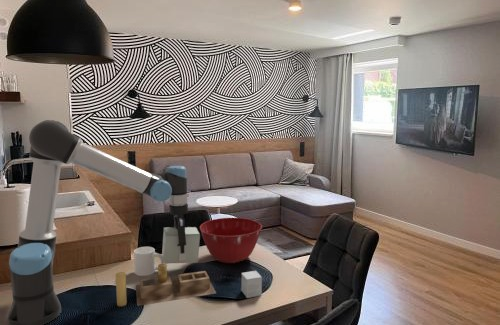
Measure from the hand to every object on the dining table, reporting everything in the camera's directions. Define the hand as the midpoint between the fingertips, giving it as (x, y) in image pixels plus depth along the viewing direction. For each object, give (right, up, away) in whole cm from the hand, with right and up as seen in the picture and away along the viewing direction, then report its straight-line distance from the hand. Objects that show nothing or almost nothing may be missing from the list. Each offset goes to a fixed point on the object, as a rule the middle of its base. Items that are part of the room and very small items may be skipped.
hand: (180, 255), depth 155 cm
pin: (-15, -11, -26) cm, 32 cm away
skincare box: (+30, -10, -16) cm, 35 cm away
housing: (0, -1, 0) cm, 1 cm away
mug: (-13, -8, 0) cm, 15 cm away
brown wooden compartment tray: (+1, -10, -15) cm, 18 cm away
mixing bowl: (+20, -5, +17) cm, 27 cm away
